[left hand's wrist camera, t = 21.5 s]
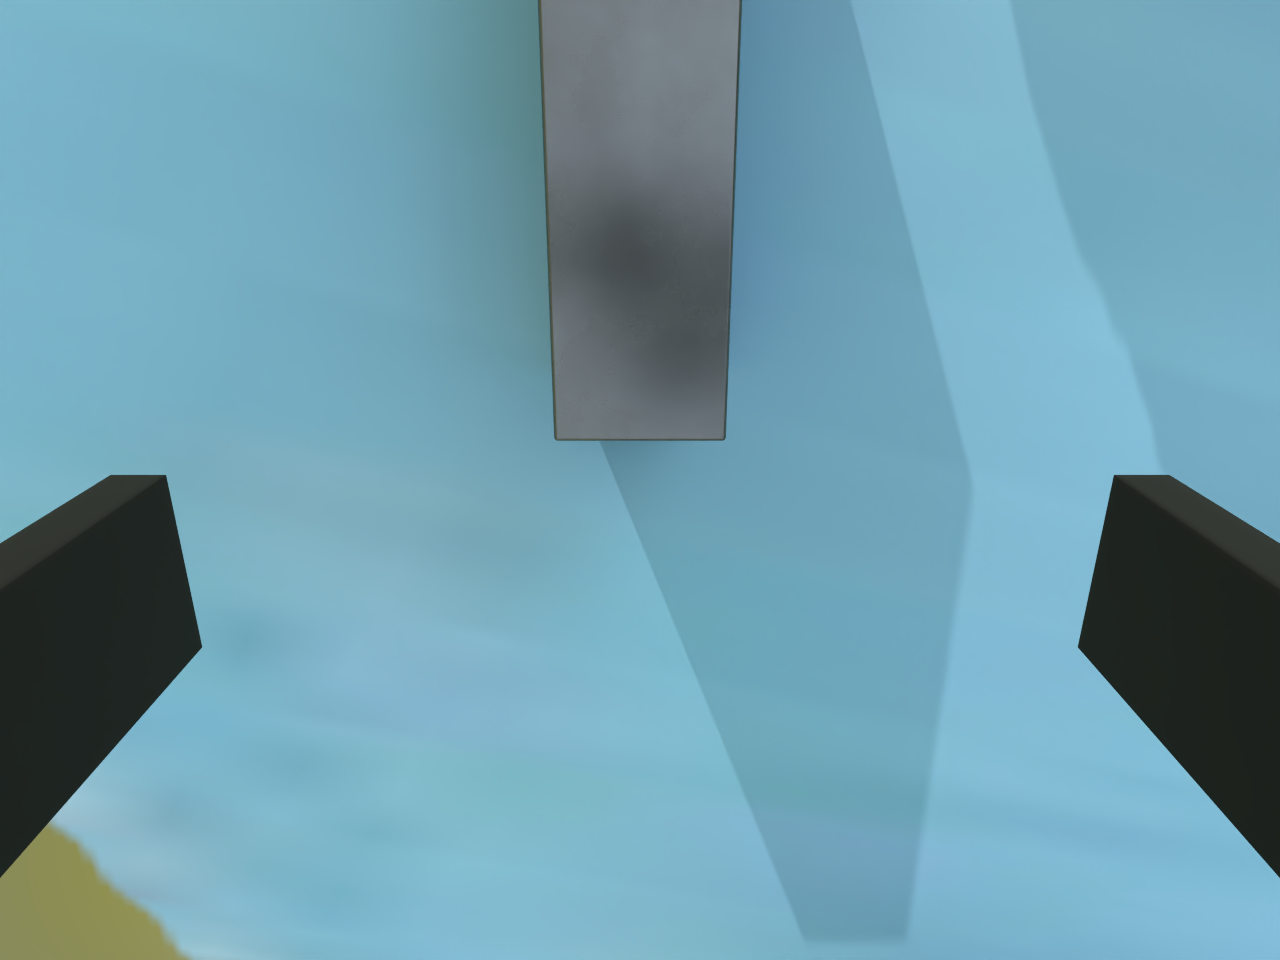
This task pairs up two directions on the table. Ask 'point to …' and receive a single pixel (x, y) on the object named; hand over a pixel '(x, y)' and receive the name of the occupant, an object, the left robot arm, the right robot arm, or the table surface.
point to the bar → (640, 214)
